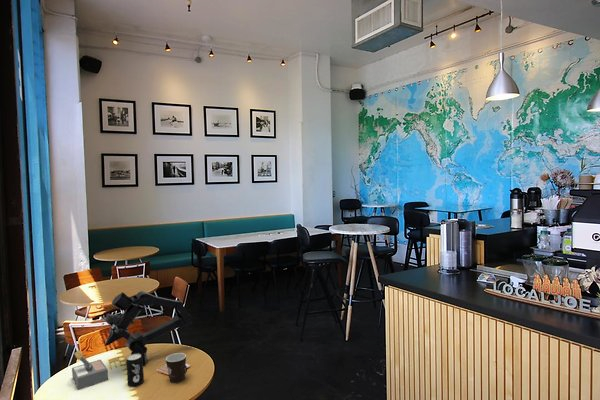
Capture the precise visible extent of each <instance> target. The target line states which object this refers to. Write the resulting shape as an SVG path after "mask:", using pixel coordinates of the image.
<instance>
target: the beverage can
mask: <svg viewBox="0 0 600 400" xmlns="http://www.w3.org/2000/svg"><path fill="white" fill-rule="evenodd" d="M125 363H126V366H125V367H126V377H127V385H128V386H130V387H138V386H141V385H142V384H143V383H144V381H145V376H144V375H145V374H144V366H143V359H142V357H141V354H133V355H131V354H130V355H128V356H127V357H126V361H125Z"/></svg>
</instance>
